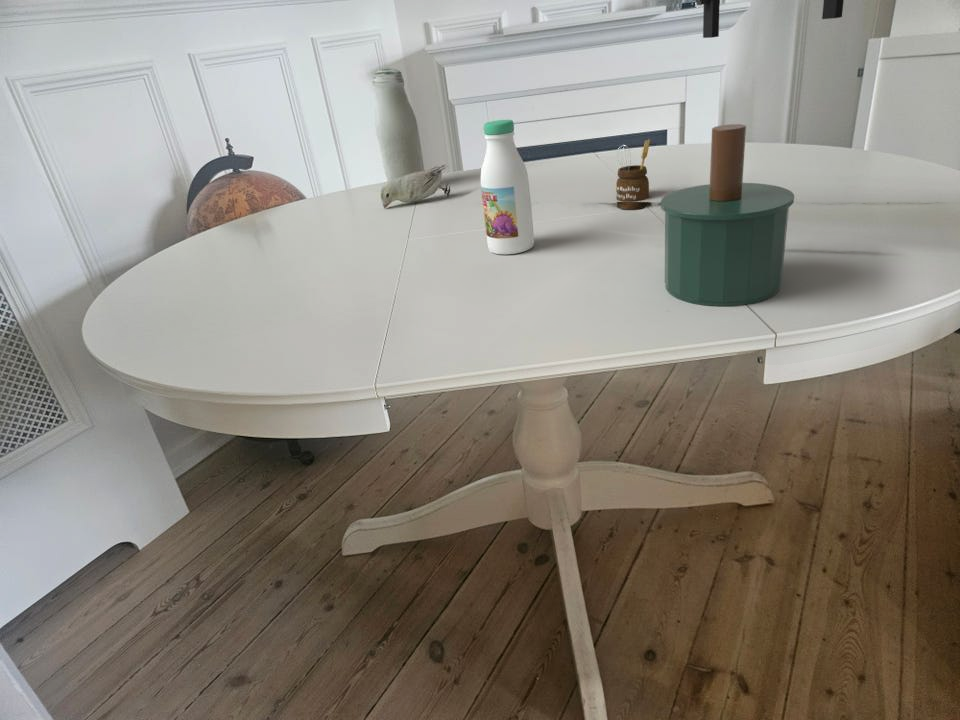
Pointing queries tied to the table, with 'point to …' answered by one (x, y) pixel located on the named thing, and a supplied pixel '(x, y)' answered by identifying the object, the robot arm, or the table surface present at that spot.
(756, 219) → the canister
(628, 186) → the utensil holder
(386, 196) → the decorative bird
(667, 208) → the lid
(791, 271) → the table surface
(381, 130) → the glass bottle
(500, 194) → the milk bottle
